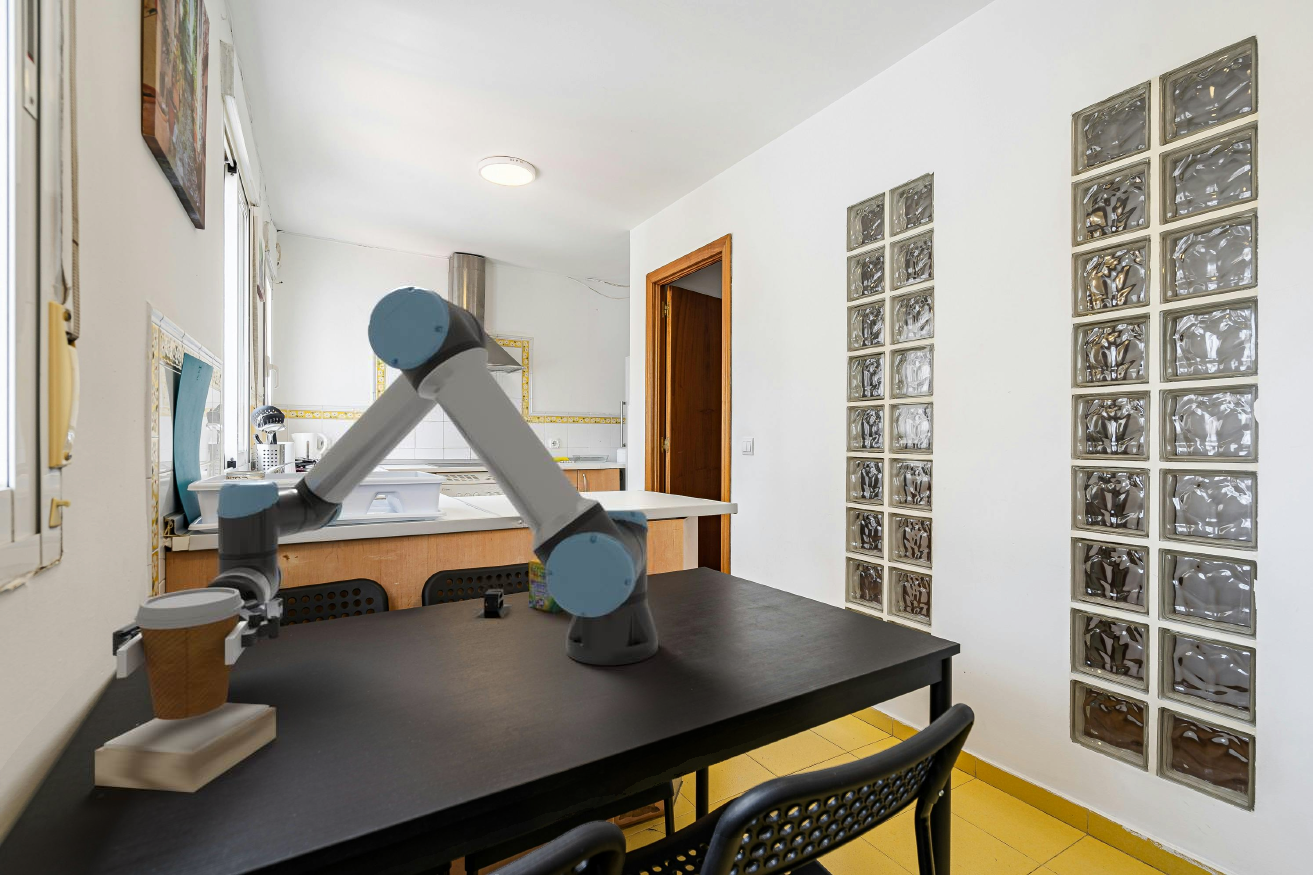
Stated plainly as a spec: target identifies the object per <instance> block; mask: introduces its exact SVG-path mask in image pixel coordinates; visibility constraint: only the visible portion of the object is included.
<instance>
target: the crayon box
mask: <svg viewBox="0 0 1313 875" xmlns="http://www.w3.org/2000/svg"><path fill="white" fill-rule="evenodd" d="M528 596H529V599H528V600H529V601H528V602H529V603H528V606H529V607H530V608H534V609H538V610H543V611H547V612H550V613H557V612H560V611H564V609H563V608H562V607H561V606H559V605H558V604H557V602H556V601H555V600H554V599H553V597H552V596H551V594H550V592H549V590H548V587H547V583H546V569H545V568H544V566H543V565H542V563H541V562H540V561H539V559H538V558H537V557H536V558H534V559H533V558H532V559H529V560H528Z"/></svg>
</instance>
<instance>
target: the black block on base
mask: <svg viewBox="0 0 1313 875" xmlns="http://www.w3.org/2000/svg"><path fill="white" fill-rule="evenodd" d="M483 594H484V596H483V597H484V598H483V608H484V609H483V608H482V609H481V610H480V611H479V612H480V613H479V612H478V613H477V614H476V615H475V616H474V617H475V618H477V619H483V620H484V619H503V618H504V617H505V616H506V614H505V612H507V613H508V611H509V610H510V609H511V608H512V607H510V606H511V605H512V604H504V596H505V595H504V588H500V589H499V588H496V589H495V588H493V589H491V588H489V589H488V590H487V591H486V592H485V593H483ZM509 608H510V609H509ZM508 609H509V610H508ZM474 617H473V619H475V618H474Z"/></svg>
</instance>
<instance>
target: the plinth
mask: <svg viewBox="0 0 1313 875" xmlns="http://www.w3.org/2000/svg"><path fill="white" fill-rule="evenodd" d="M276 716H277V707H271V706H269V704H259V703H258V704H254V703H252V704H251V703H236V702H235V703H234V702H225V703H224V704H223V705H222V706H220V707H219V708H217V709H215V710H212V711H210V712H207V713H205V714H202V715H198V716H195V717H190V718H184V719H177V720H162V719H158V718H156V717H154V718H153V719H151V720H149V721H148V722H145V723H143V724H141V725H139V726H137V727H134V728H132V729H131V730H129V731H127V732H124V733H123V734H121V735H119V736H116V737H114V738H112V739H110V740H108V741H106V742H105V743H103V746H101V747H99V748H97V749H95V750H94V786H101V787H116V788H127V789H128V788H130V789H142V790H143V789H144V790H157V791H166V792H167V791H168V792H169V791H171V792H182V793H183V792H184V793H195V792H196V791H198V790H200V789H201V788H203V786H205V785H206V784H209V783H210V782H211V781H213V780H214V779H216V778H218V777H219V776H220V775H222V774H223V773H225V772H226V771H229V769H231V768H232V767H234V766H235V765H237V764H239V763H241V761H243V760H244V759H246V758H247V757H249V756H251V755H252V754H254V753H255V752H256V751H258V750H260V749H261V748H263V747H264V746H265V745H268V744H269V743H270V742H272V741H273V740H274V739H277V731H276V730H277V729H276V728H277V726H276V724H277V723H276V722H277V717H276Z"/></svg>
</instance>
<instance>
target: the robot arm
mask: <svg viewBox="0 0 1313 875" xmlns="http://www.w3.org/2000/svg"><path fill="white" fill-rule="evenodd" d="M367 336H368V341H369V342H368V343H369V344H370V348H371V350H372V351H373V353H374V354H375V355H376V357H377V358H378V359H379V360H380V361H382V362H383V363H384V364H386V365H387V366H389V367H391V368H393V369H395V370H396V369H397V370H400V372H401V373H400V374H399V375H398V377H396V378H395V379H394V381H393V382H392V383H390V385H389V386H388V387H386V389H385V390H384V391H383V393H381V394H380V396H378V397H377V399H375V401H374V402H373V403H372V404H371V405H369V407H368V408H367V409H366V410H365V411H364V413H362V415H360V417H358V419H357V420H356V421H355V422H354V423H353V424H352V425H351V426H350V427H349V428H348V430H347V431H345V433H344V434H343V435H342V436H341V437H339V438H338V439H337V441H336V442H334V444H333V445H332V446H331V447H330V448H329V449H328V450H327V452H326V453H325V454H324V455H323V456H322V457H321V458H320V459H319V460H318V461H317V462H316V463H315V464H314V465H313V467H311V469H309V471H307V472H306V474H305V475H304V476H303V477H302V478H301V479H300V480H299V481H298V482H297V483H296V484H295V485H294V486H293V487H291V488H289V489H281V490H279V486H278V484H277V483H276V482H275V481H272V480H245V481H244V480H243V481H231V482H230V481H229V482H226V483H224V484H222V486H221V487H220V488H219V491H218V492H219V493H218V505H217V506H218V507H217V509H216V514H217V528H218V529H217V538H218V539H217V540H218V541H217V542H218V543H217V545H218V547H217V550H218V556H217V577H215V578H213V580H212V581H210V583H208V584H207V585H205V587H204V588H233V589H237V590H239V593H240V596H241V599H242V600H243V601H244V606H243V607H242V610H241V612H240V613H239V619H238V625H237V626H236V627H235V628H234V629H233V630H232V632H231V633H230V634H229V635H228V636H227V638H226V639H225V665H229V664H232V665H234V664H235V663H236V661H237V660H238V659H239V657H240V656H241V655H242V653H243V652H244V651H245V649H246V648H250V647H251V648H252V647H253V646H255V645H256V644H257V642H261V640H262V638H263V637H267V639H269V640H275V639H278V638H279V637H280V636H281V635H280V634H281V633H280V630H281V628H280V625H281V623H280V622H281V619H282V618H283V617H284V616H283V602H284V600H283V598H280V597H276V595H277V594H278V592H279V589H280V588H281V585H282V580H283V579H282V578H283V572H282V569H281V567H280V565H279V538H283V537H288V536H291V535H296V534H301V533H306V532H312V531H313V532H314V531H318V530H321V529H323V528H325V527H327V526H331V525H332V524H334V523H335V522H336V521H337V520H338V519H339V517H340V515H341V514H342V509H343V503H344V501H345V500H347V498H348V497H349V496H350V495H351V494H352V493H353V492H354V491H355V490H356V489H357V488H358V487H359V486H360V485H361V483H363V481H364V480H366V479H367V477H369V476H370V474H372V473H373V471H374V470H375V469H376V468H377V467H378V466H379V465H380V464H381V463H382V462H383V461H384V460H385V459H386V458H387V457H388V456H390V454H391V453H392V452H393V451H394V450H395V449H396V448H397V446H399V444H400V443H401V442H402V441H403V440H404V439H405V438H406V437H407V436H408V435H410V433H412V431H413V430H414V429H415V428H416V427H417V426H418V425H419V423H421V422H422V420H424V419H425V417H427V415H429V414H430V412H431V411H432V410H433V409H434V408H435V407H436V406H437V405H439V406H440V408H441V409H442V410H443V412H444V413H445V414H446V416H447V417H448V418H449V420H450V422H451V423H452V424H453V425H454V427H455V428H456V430H457V431H458V432H459V434H460V435H461V437H462V438H463V439H464V440H465V442H466V443H467V445H468V446H469V448H470V449H471V450H472V451H473V453H474V454H475V455H476V458H478V460H479V461H480V462H481V464H482V466H484V468H485V470H486V471H487V472H488V473H489V475H490V476H491V477H492V478H493V480H494V481H495V484H497V486H498V487H499V489H500V490H501V491H502V493H503V494H504V496H505V497H506V498H507V499H508V501H509V503H510V504H511V505H512V507H514V509H515V510H516V512H517V513H518V514H519V516H520V517H521V519H522V520H523V521H524V523H525V524H526V525H527V527H528V529H530V531H531V532H532V534H533V535H532V536H533V538H532V545H531V550H532V552H533V554H534V555H535V556H536V559H537V558H538V559H539V561H540V562H541V563H542V565H543V566H544V568H545V569H546V583H547V587H548V590H549V592H550V594H551V596H552V597H553V599H554V600H555V601H556V602H557V604H558V605H559V606H561V607H562V608H563V610H565V611H566V612H568V613H570V614H572V618H571V620H570V623H569V627H568V630H567V634H566V638H565V652H566V655H568V657H570V658H571V659H573V660H575V661H577V662H581V663H584V664H590V665H596V666H597V665H598V666H619V665H627V664H632V663H633V664H634V663H638V662H641V661H644V660H646V659H649V658H651V657H652V656H654V655H655V654H656V653H657V652H658V650H659V645H658V644H659V643H658V642H659V639H658V637H659V636H658V631H657V629H656V625H655V623H654V620H653V619H654V618H653V616H652V612H651V609H650V607H649V604H648V532H649V526H648V523H647V522H648V520H647V519H648V518H647V515H646V513H645V512H644V511H642V510H641V511H640V510H612V509H611V510H608V509H607V510H606V509H605V508H604V507H603V505H602V504H601V502H600V501H599V500H596V499H592V498H591V499H590V498H586V497H583V496H582V495H581V493H580V492H579V491H578V489H577V488H576V487H575V485H574V484H573V483H572V481H571V479H569V477H568V475H567V474H566V473H565V472H564V470H563V469H562V468H561V466H560V465H559V464H558V462H557V461H556V460H555V458H554V457H553V456H552V454H551V453H550V451H549V450H548V449H547V448H546V446H545V445H544V443H543V442H542V440H541V439H540V438H539V436H538V435H537V434H536V433H535V431H534V430H533V429H532V427H531V426H530V425H529V423H528V422H527V420H526V419H525V418H524V416H523V415H522V414H521V412H520V411H519V410H518V408H517V407H516V406H515V404H514V402H513V401H512V400H511V399H510V397H509V396H508V394H506V391H505V390H504V389H503V388H502V386H501V385H500V384H499V383H498V381H497V379H496V378H495V376H493V374H492V373H491V372H490V370H489V369H488V367H487V366H488V365H487V364H488V360H489V352H488V350H487V345H488V344H487V343H488V342H487V335H486V332H485V329H484V327H483V324H482V323H481V322H480V320H479V319H478V317H476V316H475V314H473V313H472V312H471V311H469V310H468V309H466V308H464V307H462V306H459V305H458V304H456V303H453V302H451V301H449V300H447V299H446V298H443V297H442V296H441V295H440V294H439V293H437V292H435V291H434V290H431V289H427V288H423V287H419V286H402V287H398V288H396V289H393V290H391V291H389V292H388V293H387V294H384V296H383V297H381V298H380V300H379V301H378V302H377V303H376V304H375V306H374V308H373V309H372V311H371V314H370V316H369V324H368V326H367ZM275 597H276V598H275ZM261 617H264V621H262V618H261ZM112 656H114V657H116V679H122V678H128V676H129V675H131V674H132V673H133V672H134V671H135V670H136V669H137V668H138V667H139V666H140V665H142V664H144V662H146V660H145V654H144V647H143V641H142V635H141V630H140V627H139V626H138V625H137V621H133V622H132V623H130V624H127V625H125V626H123V627H121V628H119V629H117V630H115V631H113V632H112Z"/></svg>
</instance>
